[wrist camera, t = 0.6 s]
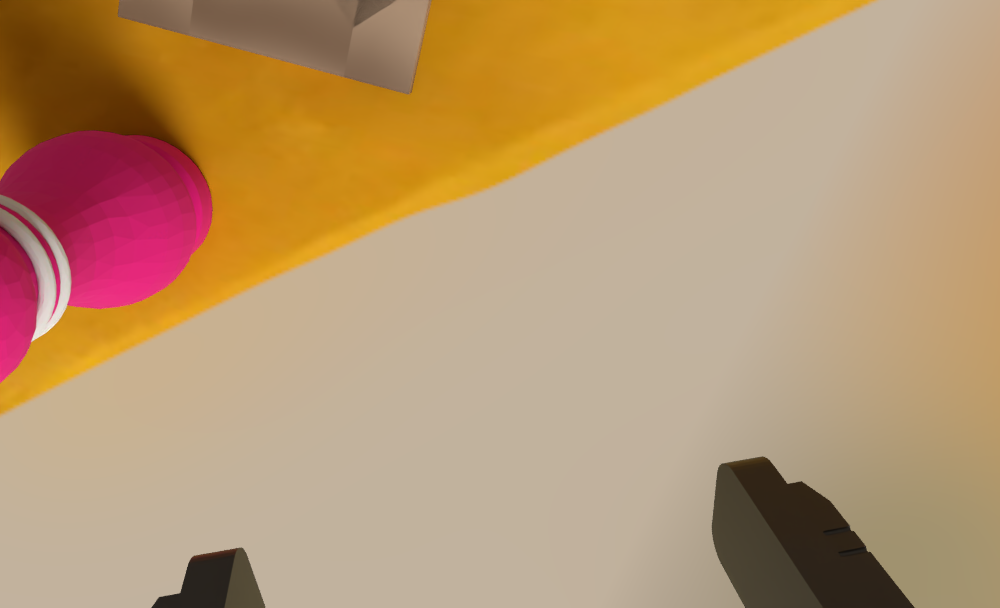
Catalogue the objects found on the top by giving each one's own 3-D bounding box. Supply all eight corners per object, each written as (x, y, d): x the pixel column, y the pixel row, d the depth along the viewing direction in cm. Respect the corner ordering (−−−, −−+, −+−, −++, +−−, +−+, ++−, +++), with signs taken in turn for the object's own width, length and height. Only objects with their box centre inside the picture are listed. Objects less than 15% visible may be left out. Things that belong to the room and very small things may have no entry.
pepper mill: (57, 117, 32) (-497, 178, 13) (222, 130, 33) (-83, 207, 14) (72, 270, 34) (-387, 512, 15) (226, 280, 35) (-33, 523, 16)
